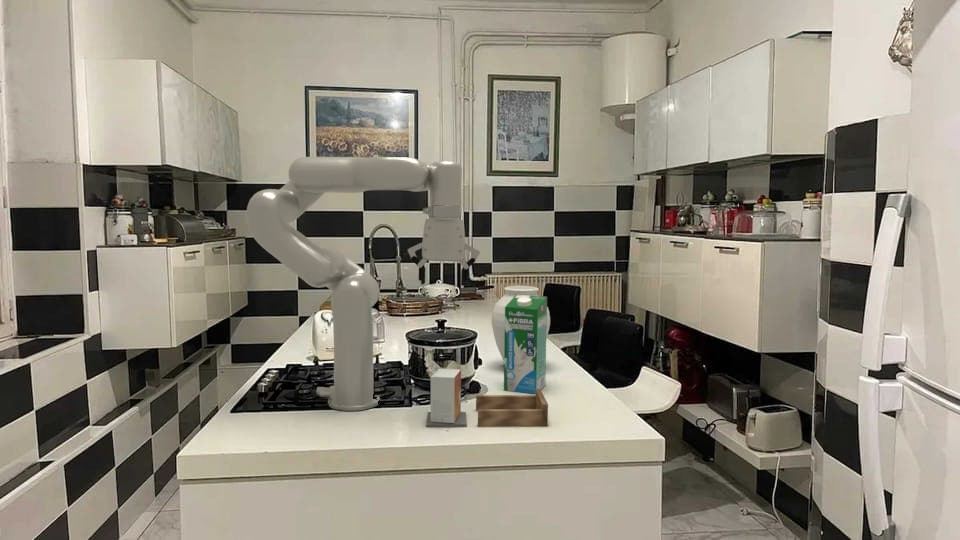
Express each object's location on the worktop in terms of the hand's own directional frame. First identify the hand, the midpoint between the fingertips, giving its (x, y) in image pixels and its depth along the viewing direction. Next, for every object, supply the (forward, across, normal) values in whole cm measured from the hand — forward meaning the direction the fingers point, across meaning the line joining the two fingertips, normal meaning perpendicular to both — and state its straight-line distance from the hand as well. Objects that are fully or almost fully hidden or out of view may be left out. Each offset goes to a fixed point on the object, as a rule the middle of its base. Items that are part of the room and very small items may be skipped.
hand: (442, 284), depth 156 cm
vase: (+30, +22, +39) cm, 54 cm away
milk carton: (+30, +22, +17) cm, 41 cm away
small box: (+30, +2, -11) cm, 32 cm away
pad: (+30, +2, -11) cm, 32 cm away
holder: (+30, +17, -8) cm, 35 cm away
